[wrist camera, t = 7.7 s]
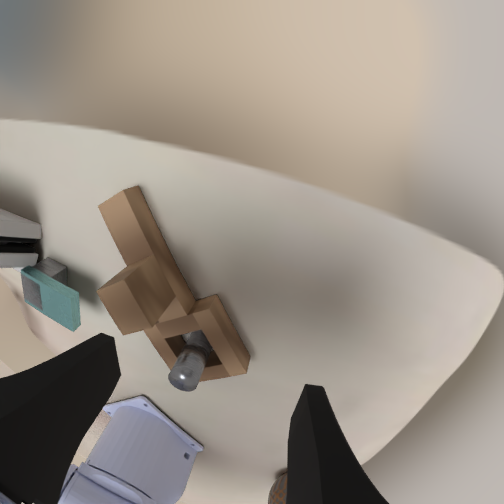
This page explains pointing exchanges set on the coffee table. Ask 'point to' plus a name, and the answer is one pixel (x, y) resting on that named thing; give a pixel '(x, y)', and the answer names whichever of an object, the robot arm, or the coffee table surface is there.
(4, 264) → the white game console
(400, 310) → the coffee table surface
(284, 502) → the vase
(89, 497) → the robot arm
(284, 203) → the coffee table surface
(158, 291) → the link
